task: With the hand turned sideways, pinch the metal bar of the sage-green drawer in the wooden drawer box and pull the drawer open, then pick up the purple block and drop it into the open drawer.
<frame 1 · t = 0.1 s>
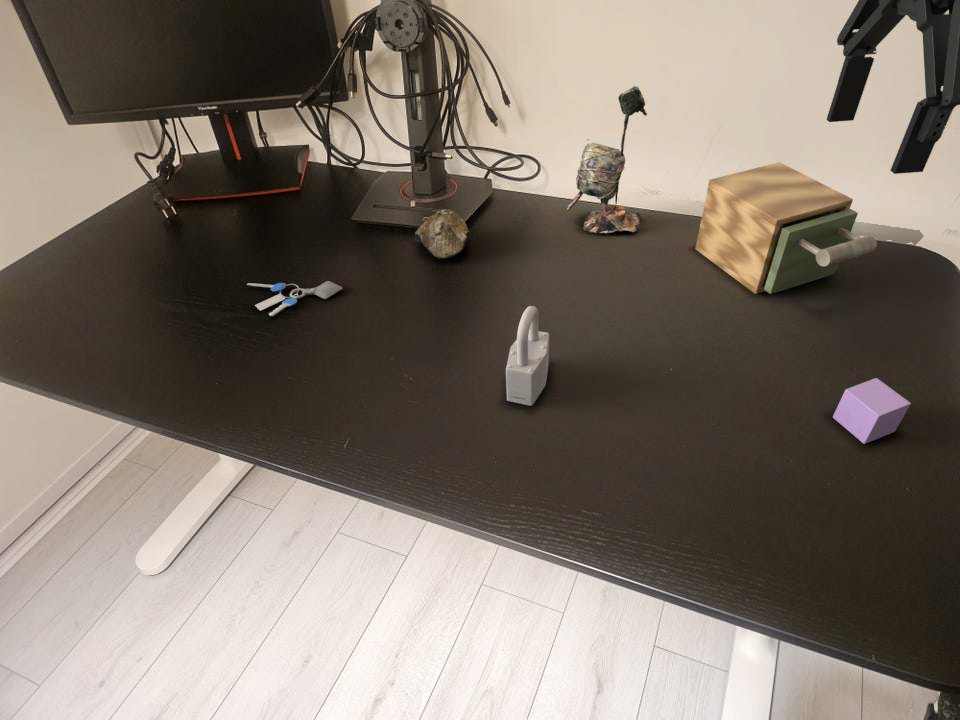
hand: (870, 144, 64), 20 cm above the table, tool pointing down, fingers open, 13 cm apart
pull-out drawer: (794, 242, 78), point 5 cm above the table, slide at 0.5 cm
fossilized seashell: (444, 248, 93), on the table
metal wire sculpture: (604, 224, 95), on the table
padlock: (528, 384, 69), on the table
purple block: (863, 424, 62), on the table
wooden drawer box: (758, 260, 85), on the table
key chain: (289, 302, 84), on the table
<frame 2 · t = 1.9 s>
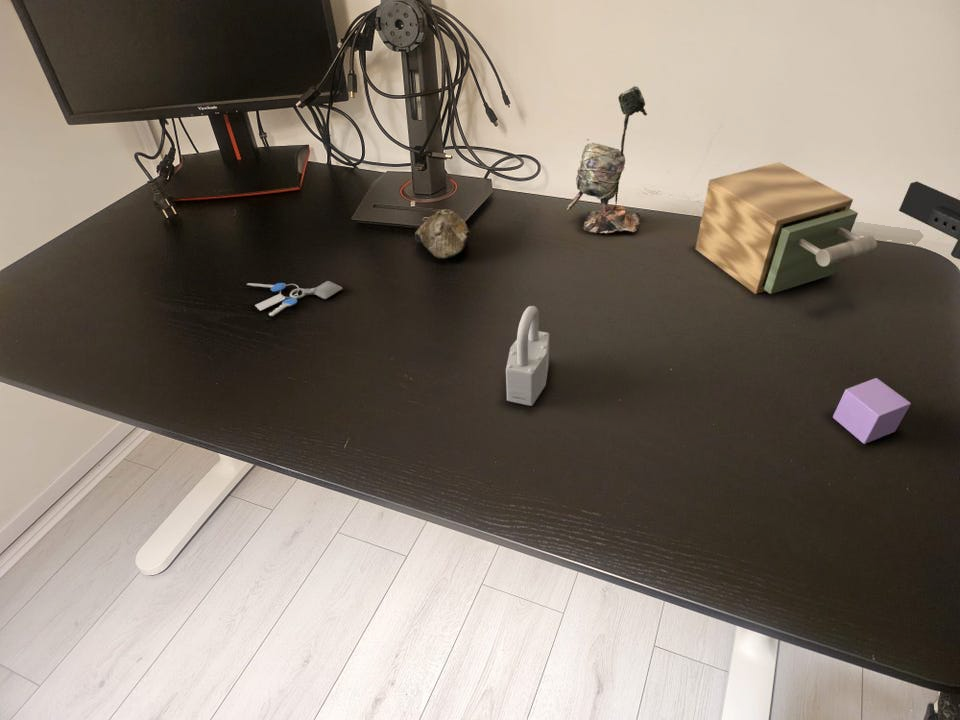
nothing on the table moved.
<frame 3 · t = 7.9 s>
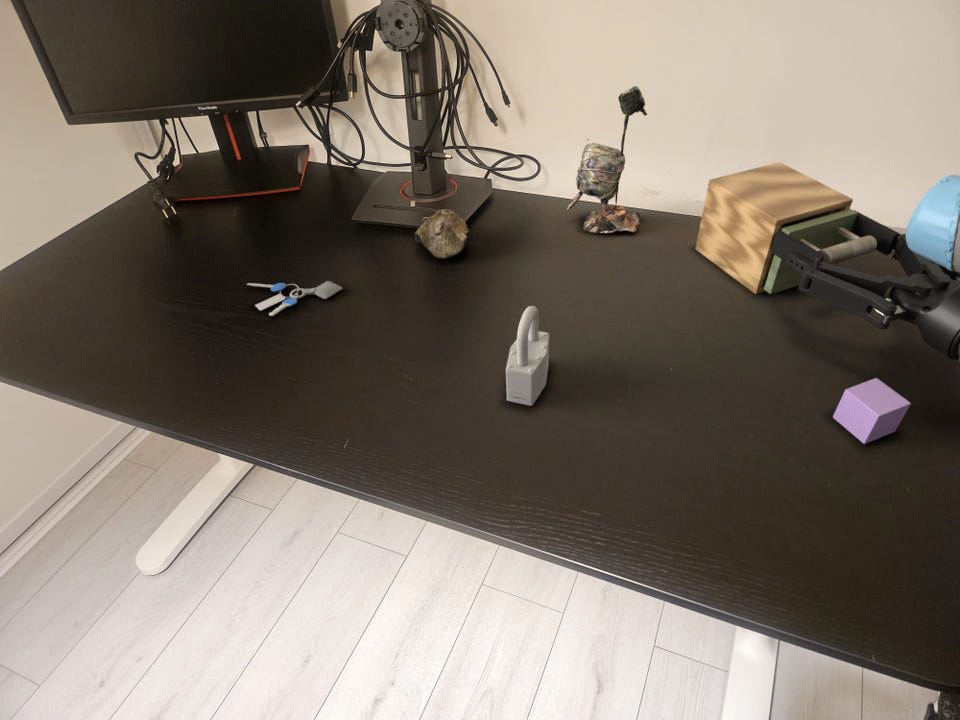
hand: (812, 230, 75), 8 cm above the table, tool horizontal, fingers closed on pull-out drawer, 10 cm apart
pull-out drawer: (794, 242, 78), point 5 cm above the table, slide at 0.5 cm, touching gripper
everything else where it was.
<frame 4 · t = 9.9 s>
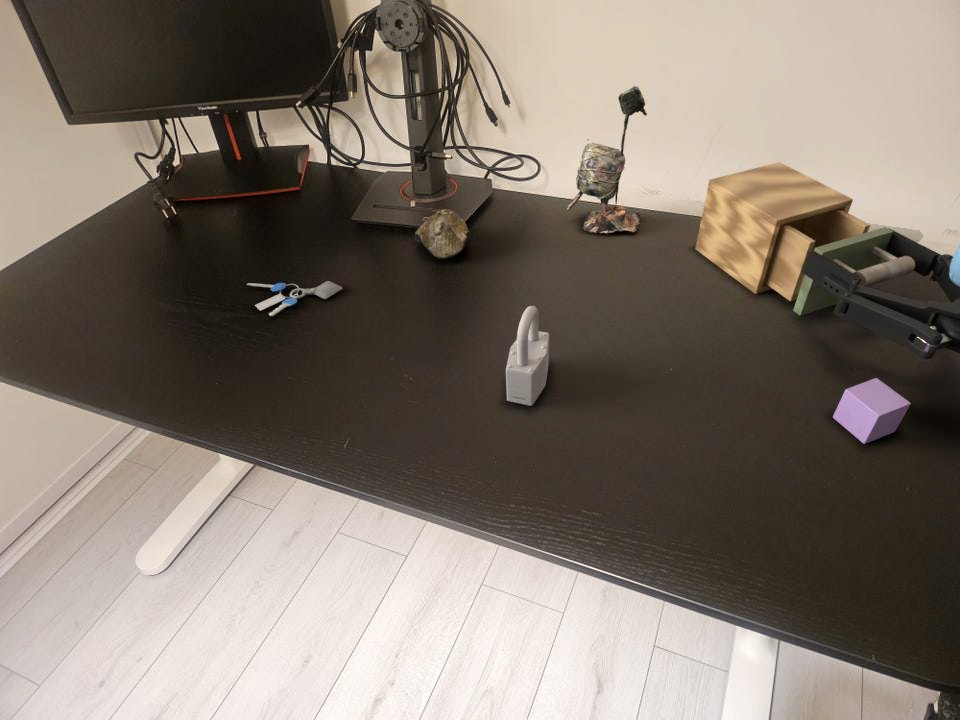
hand: (845, 250, 71), 8 cm above the table, tool horizontal, fingers closed on pull-out drawer, 10 cm apart
pull-out drawer: (824, 261, 75), point 5 cm above the table, slide at 5.6 cm, touching gripper
everything else where it was.
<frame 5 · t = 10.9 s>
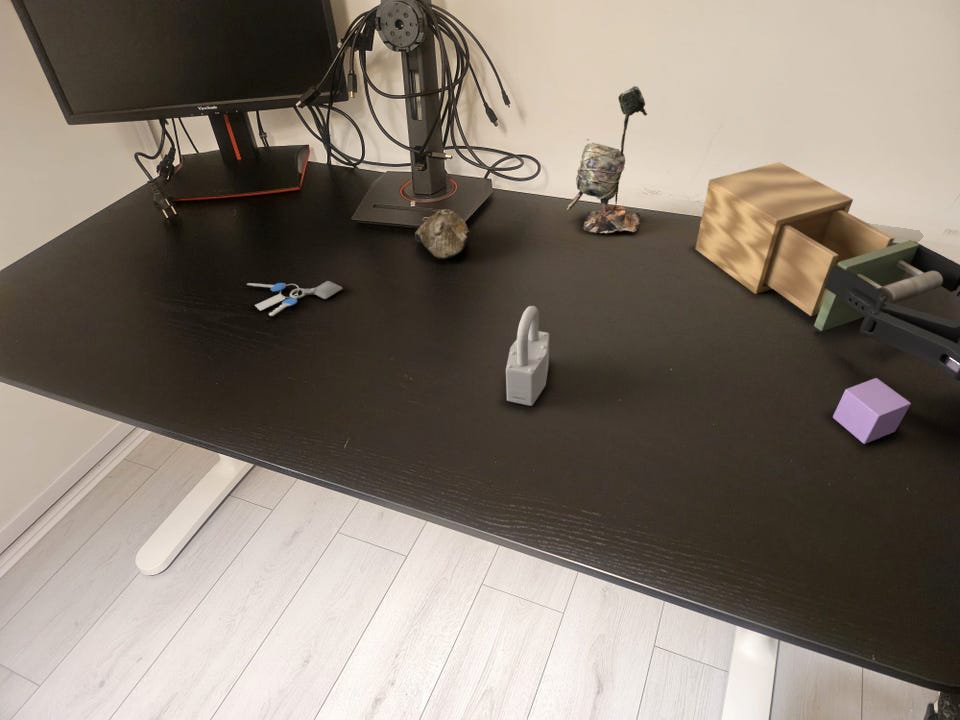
hand: (869, 264, 69), 8 cm above the table, tool horizontal, fingers closed on pull-out drawer, 10 cm apart
pull-out drawer: (846, 275, 72), point 5 cm above the table, slide at 8.9 cm, touching gripper
everything else where it was.
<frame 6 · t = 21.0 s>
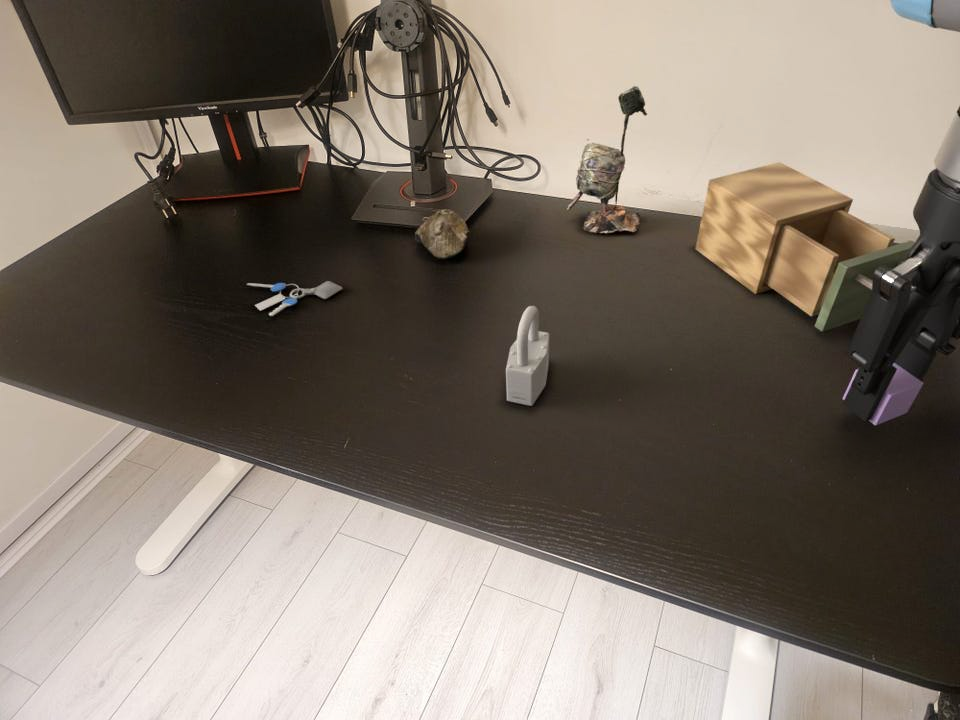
hand: (875, 403, 60), 3 cm above the table, tool pointing down, fingers closed on purple block, 4 cm apart
pull-out drawer: (847, 275, 72), point 5 cm above the table, slide at 9.0 cm
purple block: (874, 405, 60), point 3 cm above the table, touching gripper
everything else where it was.
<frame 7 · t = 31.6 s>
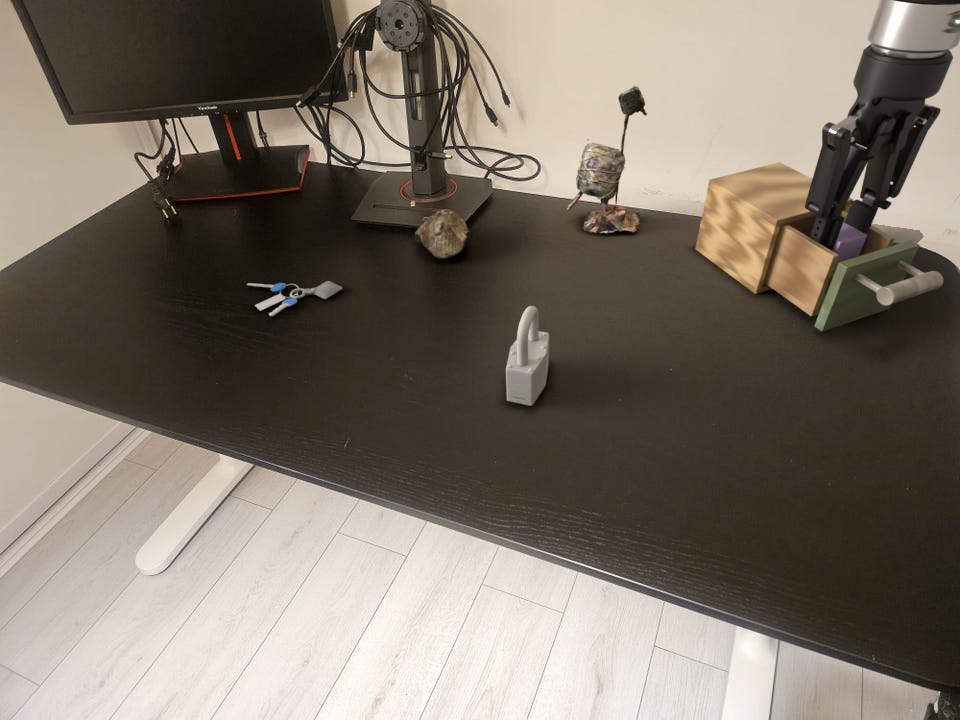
hand: (830, 258, 74), 6 cm above the table, tool pointing down, fingers closed on purple block, 4 cm apart
pull-out drawer: (847, 275, 72), point 5 cm above the table, slide at 9.0 cm, touching gripper
purple block: (829, 260, 74), point 6 cm above the table, touching gripper
everything else where it was.
when the fingers open (9 cm above the table, at t = 35.4 s): purple block drops 7 cm, resting on pull-out drawer.
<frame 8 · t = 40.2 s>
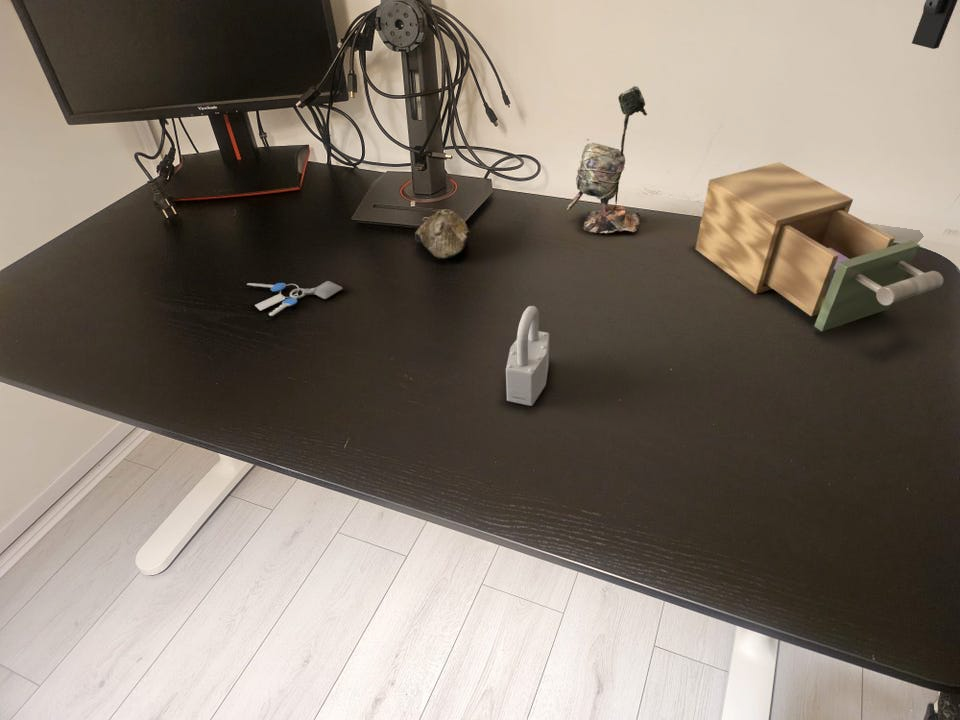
pull-out drawer: (847, 275, 72), point 5 cm above the table, slide at 9.0 cm, touching purple block
purple block: (819, 286, 76), point 2 cm above the table, touching pull-out drawer
everything else where it was.
at the end: pull-out drawer slide at 9.0 cm; purple block inside the target area in the pull-out drawer (0.2 cm from its centre), point 2.0 cm above the wooden drawer box's base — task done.
